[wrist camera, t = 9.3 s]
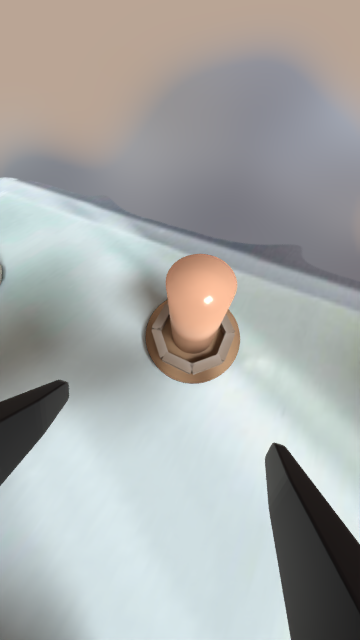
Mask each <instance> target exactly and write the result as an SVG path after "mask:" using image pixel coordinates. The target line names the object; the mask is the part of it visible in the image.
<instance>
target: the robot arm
mask: <svg viewBox="0 0 360 640" xmlns="http://www.w3.org/2000/svg"><path fill="white" fill-rule="evenodd" d="M68 398H69V385H68V382H66V381H63V380H56V381H54V382H51V383H48V384H46V385H43V386H41V387H38V388H35V389H33V390H30V391H28V392H25V393H22V394H20V395H17V396H14V397H12V398H9V399H7V400H4V401H1V402H0V486H1V484H2V483H3V482H4V481H5V480H6V479H7V477H8V476H9V475H10V474H11V473H12V471H13V470H14V469H15V468H16V467H17V465H18V464H19V463H20V462H21V461H22V460H23V458H24V457H25V456H26V455H27V454H28V452H29V451H30V450H31V449H32V448H33V446H34V445H35V444H36V443H37V442H38V441H39V439H40V438H41V437H42V436H43V434H44V433H45V432H46V430H47V429H48V428H49V426H50V425H51V423H52V422H53V421H54V419H55V418H56V416H57V415H58V413H59V412H60V411H61V409H62V408H63V406H64V405H65V404H66V402H67V400H68ZM265 467H266V480H267V492H268V504H269V512H270V519H271V524H272V530H273V536H274V542H275V548H276V554H277V560H278V566H279V572H280V577H281V583H282V589H283V595H284V601H285V607H286V613H287V619H288V625H289V630H290V636H291V640H360V544H359V543H358V541H357V540H356V539H355V537H354V536H353V535H352V534H351V532H350V531H349V530H348V528H347V527H346V526H345V524H344V523H343V522H342V520H341V519H340V518H339V516H338V515H337V514H336V513H335V511H334V510H333V509H332V507H331V506H330V505H329V503H328V502H327V501H326V499H325V498H324V497H323V495H322V494H321V493H320V492H319V490H318V489H317V488H316V486H315V485H314V484H313V482H312V481H311V480H310V478H309V477H308V476H307V474H306V473H305V472H304V471H303V469H302V468H301V467H300V465H299V464H298V463H297V461H296V460H295V459H294V457H293V456H292V455H291V453H290V452H289V451H288V450H287V448H286V447H285V446H284V445H281V444H278V443H272V445H271V447H270V449H269V450H268V452H267V454H266V457H265Z"/></svg>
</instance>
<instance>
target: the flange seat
mask: <svg viewBox="0 0 360 640" xmlns="http://www.w3.org/2000/svg"><path fill="white" fill-rule="evenodd" d="M146 345H147V349H148V352H149V355H150V357H151V358H152V360H153V362H154V363H155V365H156V366H157V367H158V368H159V369H160V370H161V371H162V372H163V373H164V374H165V375H167V376H169V377H170V378H172V379H174V380H177V381H180V382H183V383H190V384H194V383H204V382H207V381H210V380H212V379H215V378H216V377H218V376H219V375H221V374H222V373H224V372H225V371H226V370H227V369H228V368H229V367H230V366H231V364H232V363H233V361H234V360H235V358H236V356H237V353H238V350H239V345H240V333H239V328H238V324H237V322H236V320H235V318H234V316H233V315H232V313H231V312H230V311H229V309H228V310H227V312H226V314H225V316H224V318H223V320H222V322H221V324H220V326H219V328H218V330H217V332H216V334H215V336H214V338H213V341H212V343H211V344H210V346H209V347H208V348H207V349H206V350H204V351H203V352H200V353H197V354H190V353H186V352H183V351H182V350H180V349H179V348H178V347H177V346H176V345H175V343H174V341H173V337H172V330H171V322H170V314H169V306H168V299H167V300H166V301H164V302H163V303H162V304H161V305H159V306H158V307H157V309H156V310H155V311H154V312H153V314H152V315H151V317H150V319H149V322H148V324H147V329H146Z"/></svg>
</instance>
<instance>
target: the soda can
mask: <svg viewBox="0 0 360 640" xmlns="http://www.w3.org/2000/svg"><path fill="white" fill-rule="evenodd" d="M1 281H2V268H1V265H0V284H1Z"/></svg>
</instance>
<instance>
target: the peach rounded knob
mask: <svg viewBox="0 0 360 640" xmlns="http://www.w3.org/2000/svg"><path fill="white" fill-rule="evenodd" d="M166 290H167V298H168V306H169V314H170V322H171V330H172V337H173V341H174V343H175V345H176V346H177V347H178V348H179V349H180V350H182V351H183V352H186V353H190V354H197V353H200V352H203V351H204V350H206V349H207V348H208V347H209V346H210V344H211V343H212V341H213V338H214V336H215V334H216V332H217V330H218V328H219V326H220V324H221V322H222V320H223V318H224V316H225V314H226V312H227V310H228V308H229V306H230V304H231V302H232V300H233V298H234V296H235V294H236V290H237V280H236V277H235V274H234V272H233V270H232V269H231V268H230V267H229V265H228V264H226V263H225V262H224V261H222V260H221V259H219V258H217V257H214V256H211V255H206V254H194V255H189V256H186V257H183V258H181V259H180V260H178V261H177V262H176V263H174V264H173V265H172V267H171V268H170V270H169V271H168V274H167V277H166Z"/></svg>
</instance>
